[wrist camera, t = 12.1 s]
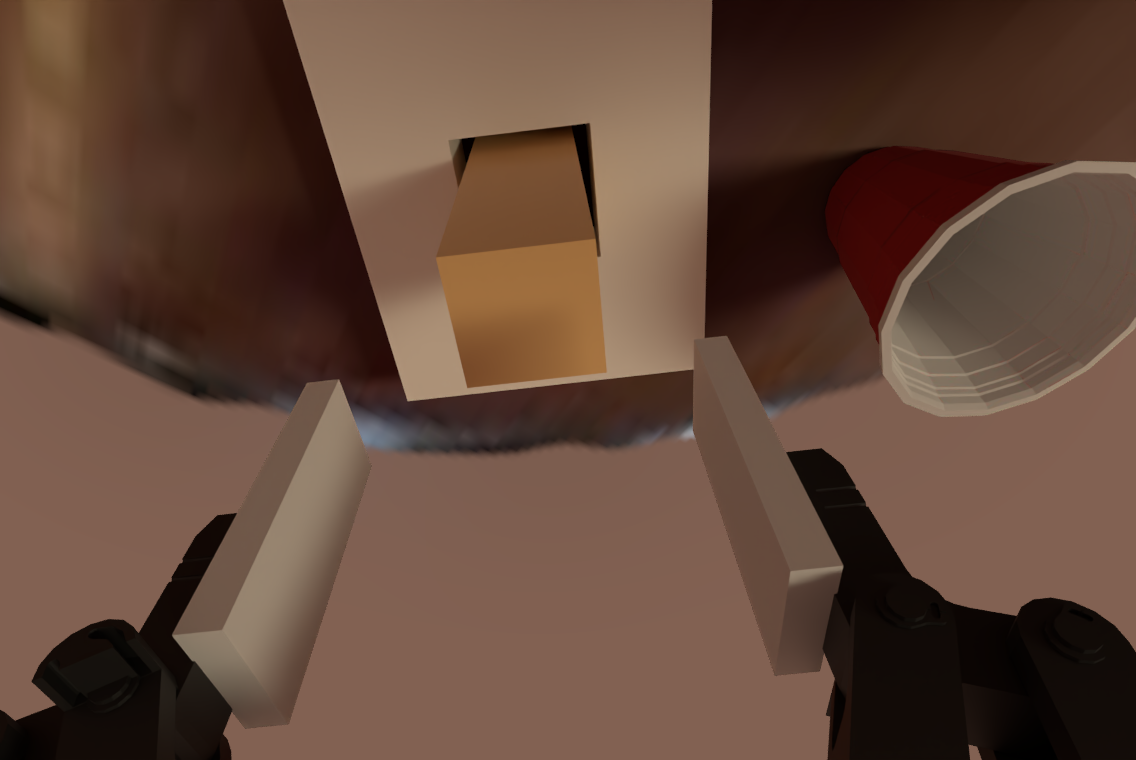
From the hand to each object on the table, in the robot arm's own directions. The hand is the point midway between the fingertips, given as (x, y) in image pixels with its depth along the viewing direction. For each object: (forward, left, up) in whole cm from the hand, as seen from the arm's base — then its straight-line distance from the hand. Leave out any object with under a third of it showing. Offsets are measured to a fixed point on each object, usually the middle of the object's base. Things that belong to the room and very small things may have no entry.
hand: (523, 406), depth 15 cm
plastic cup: (-18, +4, -20) cm, 27 cm away
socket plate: (0, 0, -19) cm, 19 cm away
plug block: (0, 0, -19) cm, 19 cm away
